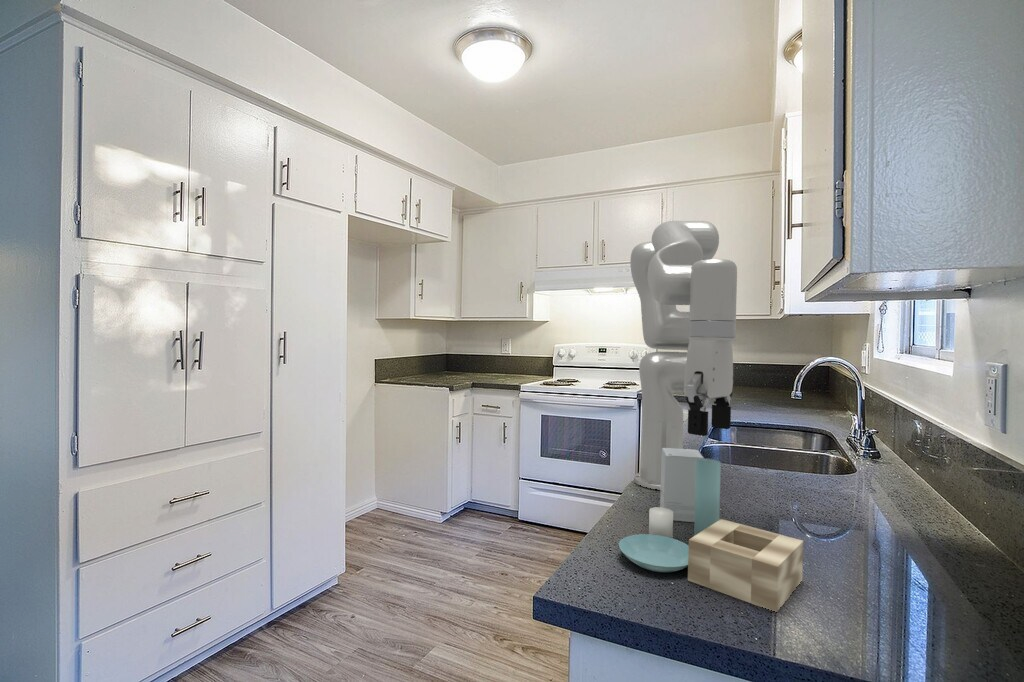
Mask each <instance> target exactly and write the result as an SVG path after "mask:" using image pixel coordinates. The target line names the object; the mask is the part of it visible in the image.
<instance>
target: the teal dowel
mask: <svg viewBox="0 0 1024 682" xmlns="http://www.w3.org/2000/svg"><path fill="white" fill-rule="evenodd" d="M721 468H722V462H721V461H720V460H717V459H714V458H706V457H704V458H700V459H696V483H695V520H694V522H693V523H694V524H693V525H694V527H693V531H694V533H693V537H694V536H695V535H697V534H698V533H700V532H701V531H703V530H705V529H706V528H708V527H709V526H711V525H712V524H714V523H716V522H717V521H719V520H720V510H721V509H720V506H721V505H720V502H721V474H722V473H721V470H722V469H721Z"/></svg>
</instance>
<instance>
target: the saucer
mask: <svg viewBox="0 0 1024 682" xmlns="http://www.w3.org/2000/svg"><path fill="white" fill-rule="evenodd" d="M618 544H619V545H618V548H619V550H620V551H621V552H622V553H623V555H624V556H625V557H626V558H627V559H628V560H630V561H631V562H632V563H634V564H636V566H638V567H640V568H643V570H644V569H646V570H647V571H651V572H656V573H674V572H678V571H680V570H684V569H685V568H688V551H689V544H687V543H685V542H684V541H681V540H678V539H676V538H674V537H673V538H669V537H665V536H659V535H651V534H649V533H648V534H647V533H642V534H641V533H638V534H632V535H628V536H626V537H623V538H621V540H619V543H618Z"/></svg>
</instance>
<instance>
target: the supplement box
mask: <svg viewBox="0 0 1024 682" xmlns="http://www.w3.org/2000/svg"><path fill="white" fill-rule="evenodd" d="M700 458H705V457H704V456H703V454H702V453H701V452H700V451H699V450H698V449H691V448H683V449H675V448H662V455H661V490H660V495H659V496H660V498H659V499H660V500H659V507H662V508H667V509H670V510H672V511H673V521H675V522H686V523H687V522H688V523H694V520H695V483H696V459H700Z"/></svg>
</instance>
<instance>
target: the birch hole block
mask: <svg viewBox="0 0 1024 682" xmlns="http://www.w3.org/2000/svg"><path fill="white" fill-rule="evenodd" d="M688 545H689V551H688V566H687V581H688V582H691V583H693V584H697V585H699V586H702V587H705V588H708V589H710V590H713V591H715V592H718V593H721V594H724V595H727V596H730V597H732V598H735V599H737V600H741V601H743V602H746V603H749V604H751V605H754V606H757V607H759V608H762V607H763V609H765V608H766V610H768V609H769V610H768V611H771V610H772V611H771V612H773V611H775V612H774V613H776V612H779V610H780V609H781V608H782V606H784V604H785V603H786V602H787V601H788V600H789V598H790V597H791V596H790V595H793V593H794V592H795V591H796V590H797V588H798V587H799V586H800V585H801V583H802V582H803V570H804V569H803V565H804V540H803V539H799V538H794V537H791V536H789V535H788V536H787V535H783V534H780V533H776V532H773V531H769V530H764V529H761V528H758V527H754V526H750V525H747V524H742V523H737V522H734V521H731V520H726V519H723V518H719V521H717V522H716V523H714V524H712V525H711V526H709V527H708V528H706V529H705V530H703V531H701V532H700V533H698V534H697V535H695V536H694V535H693V536H692V537H691V538H689V539H688ZM801 581H802V582H801ZM800 582H801V583H800ZM799 584H800V585H799ZM798 585H799V586H798ZM797 586H798V587H797ZM796 587H797V588H796ZM794 590H795V591H794ZM793 591H794V592H793ZM792 592H793V593H792ZM785 601H786V602H785ZM780 607H781V608H780Z"/></svg>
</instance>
